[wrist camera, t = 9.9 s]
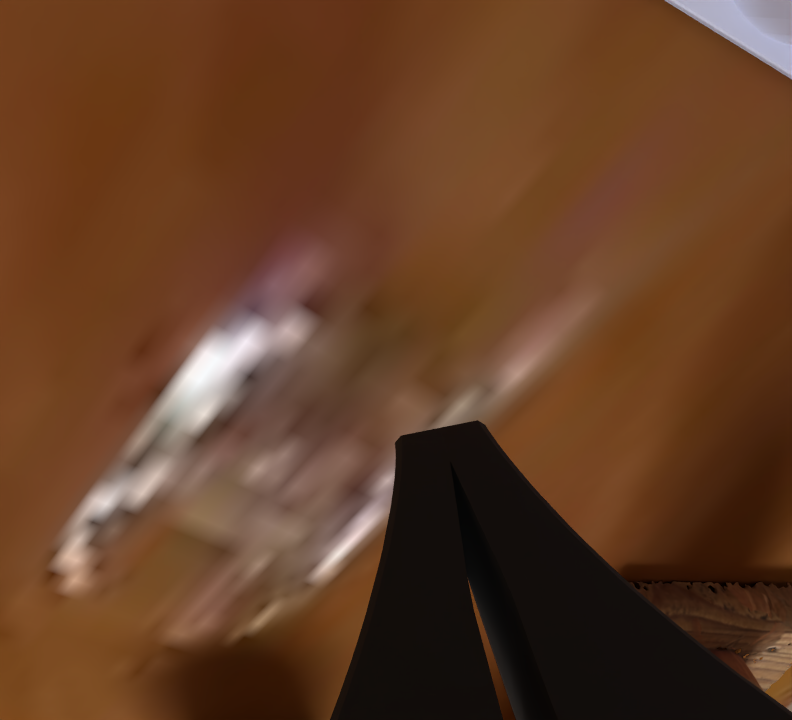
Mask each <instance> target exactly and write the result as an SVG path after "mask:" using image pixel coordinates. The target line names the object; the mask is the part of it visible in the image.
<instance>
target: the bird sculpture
mask: <svg viewBox="0 0 792 720" xmlns="http://www.w3.org/2000/svg"><path fill="white" fill-rule="evenodd" d="M629 583H630V584H631V585H632V586H633V587H634V588H635V586H634V584H633V582H629ZM637 583H639V586H640V589H636V588H635V589H636V590H638V591H639V592H640V593H641V594H642V595H643V596H644V597H645V598H647V599H648V600H649V601H650V602H651V603H652V604H654V605H655V606H656V607H657V608H658V609H659V610H661V611H662V612H663V613H664V614H665V615H667V616H668V617H669V618H670V619H671V620H673V621H674V622H675V623H676V624H677V625H678V626H680V627H681V628H682V629H683V630H684V631H686V632H687V633H688V634H689V635H691V636H692V637H693V638H694V639H696V640H697V641H698V642H699V643H701V644H702V645H703V646H704V647H706V648H707V649H708V650H710V651H711V652H712V653H713V654H715V655H716V656H717V657H718V658H720V659H721V660H722V661H723V662H725V663H726V664H727V665H728V666H730V667H731V668H732V669H734V670H735V671H736V672H737V673H739V674H740V675H741V676H743V677H744V678H746V679H747V680H748V681H750V682H751V683H752V684H754V685H755V686H757V687H758V688H759V689H761V690H762V691H763V692H765V691H766V690H767V689H768V688H770V685H771V684H773V683H775V682H776V681H777V680H779V678H780V677H781V676H782V675H783V674H784V672H785V671H786V670H788V668H790V667H791V665H792V664H789V663H791V662H792V586H791V585H790V584H789V583H788V582H787V588H784V586H783V587H782V588H777V587H776V585H773V584H772V583H771V584H769V586H768V587H767V586H765V585H764V584H763V582H758V583H756V585H755V586H754V587H752V588H751V587H750V586H748V585H745V587H744V588H742V587H740V586H739V584H738V582H737V583H735V584H734V585H732V584H731V583H727V582H726V585H727V587H725V585H724V589H723V587H722V586H720V584H719V583H715V584H713V583H712V582H706V583H704V584H702V583H701V582H698V583H697V582H695V583H693V585H691V584H690V582H682V583H681V582H676V581H673V582H672V583H671V584H669V583H666V584H663V583H662V581H660V582H659V583H656V584H655V583H654V582H653V581H652V584H647V583H643V582H637ZM687 585H688V586H689V590H688V589H687ZM709 585H711V586H712V587H713V588H714V589H715V593H713V592H712V591H711V590H710V588H708V586H709ZM644 586H645V587H646V588H647V591H646V590H645V589H644V588H643V587H644ZM724 590H725V591H724ZM720 646H721V649H723V648H726V647H727V649H726V650H717V648H719V647H720ZM780 647H782V648H780ZM736 649H741V652H740V653H738V654H736V653H735V650H736ZM772 649H775V650H773V651H771V650H772ZM746 654H749V655H747V656H746V658H744V659H743V656H745V655H746ZM761 657H764V658H763V659H762V660H759V658H761ZM754 659H756V660H754ZM753 660H754V661H756V662H755V663H754V661H753ZM788 665H789V666H788ZM787 666H788V667H787Z"/></svg>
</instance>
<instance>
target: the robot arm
mask: <svg viewBox="0 0 792 720" xmlns="http://www.w3.org/2000/svg"><path fill="white" fill-rule="evenodd" d="M665 1H666V2H668V3H670V4H671V5H673V6H674V7H676V8H678V9H679V10H681V11H682V12H684V13H686V14H687V15H689V16H690V17H692V18H694V19H695V20H697V21H699V22H700V23H702V24H703V25H705V26H707V27H708V28H710V29H711V30H713V31H715V32H716V33H718V34H719V35H721V36H723V37H724V38H726V39H728V40H729V41H731V42H732V43H734V44H736V45H737V46H739V47H740V48H742V49H744V50H745V51H747V52H748V53H750V54H752V55H753V56H755V57H757V58H758V59H760V60H761V61H763V62H765V63H766V64H768V65H769V66H771V67H773V68H774V69H776V70H777V71H779V72H781V73H782V74H784V75H786V76H787V77H789V78H790V79H792V0H665ZM395 448H396V468H395V480H394V488H393V495H392V503H391V509H390V514H389V519H388V525H387V530H386V535H385V540H384V545H383V550H382V554H381V559H380V563H379V567H378V571H377V574H376V578H375V582H374V586H373V589H372V593H371V597H370V601H369V605H368V608H367V612H366V616H365V619H364V622H363V626H362V629H361V632H360V635H359V639H358V642H357V645H356V648H355V651H354V654H353V657H352V660H351V663H350V666H349V669H348V672H347V675H346V678H345V681H344V683H343V686H342V689H341V692H340V695H339V698H338V700H337V703H336V706H335V708H334V711H333V713H332V716H331V719H330V720H503V717H502V714H501V710H500V706H499V703H498V699H497V695H496V692H495V688H494V684H493V681H492V677H491V673H490V669H489V666H488V662H487V658H486V654H485V650H484V647H483V643H482V639H481V635H480V632H479V628H478V624H477V620H476V617H475V613H474V609H473V604H472V599H471V594H470V589H469V584H468V580H469V583H470V586H471V589H472V592H473V595H474V598H475V601H476V604H477V607H478V610H479V613H480V616H481V619H482V622H483V625H484V628H485V630H486V633H487V636H488V639H489V642H490V645H491V648H492V651H493V654H494V657H495V660H496V663H497V666H498V668H499V671H500V674H501V677H502V680H503V683H504V686H505V689H506V692H507V695H508V698H509V701H510V704H511V707H512V709H513V712H514V715H515V718H516V720H792V712H791V711H789V710H788V709H787V708H785V707H784V706H783V705H781V704H780V703H779V702H777V701H776V700H774V699H773V698H772V697H770V696H769V695H768V694H766V693H765V692H763V691H762V690H761V689H759V688H758V687H757V686H755V685H754V684H752V683H751V682H750V681H748V680H747V679H746V678H744V677H743V676H741V675H740V674H739V673H737V672H736V671H735V670H734V669H732V668H731V667H730V666H728V665H727V664H726V663H725V662H723V661H722V660H721V659H720V658H718V657H717V656H716V655H715V654H713V653H712V652H711V651H710V650H708V649H707V648H706V647H704V646H703V645H702V644H701V643H699V642H698V641H697V640H696V639H694V638H693V637H692V636H691V635H689V634H688V633H687V632H686V631H684V630H683V629H682V628H681V627H680V626H678V625H677V624H676V623H675V622H674V621H673V620H671V619H670V618H669V617H668V616H667V615H665V614H664V613H663V612H662V611H661V610H659V609H658V608H657V607H656V606H655V605H654V604H652V603H651V602H650V601H649V600H648V599H647V598H645V597H644V596H643V595H642V594H641V593H640V592H639V591H638V590H636V589H635V588H634V587H633V586H632V585H631V584H630V583H629V582H628V581H626V580H625V579H624V578H623V577H622V576H621V575H620V574H619V573H618V572H617V571H615V570H614V569H613V568H612V567H611V566H610V565H609V564H608V563H607V562H606V561H605V560H604V559H603V558H602V557H601V556H600V555H599V554H598V553H597V552H596V551H594V550H593V549H592V548H591V547H590V546H589V545H588V544H587V543H586V542H585V541H584V540H583V539H582V538H581V537H580V536H579V535H578V534H577V533H576V532H575V531H574V530H573V529H572V528H571V527H570V526H569V525H568V524H567V523H566V522H565V520H564V519H563V518H562V517H561V516H560V515H559V514H558V513H557V512H556V511H555V510H554V509H553V508H552V507H551V506H550V504H549V503H548V502H547V501H546V500H545V499H544V498H543V497H542V496H541V495H540V494H539V493H538V492H537V490H536V489H535V488H534V487H533V486H532V485H531V484H530V482H529V481H528V480H527V479H526V478H525V477H524V475H523V474H522V473H521V472H520V471H519V469H518V468H517V467H516V466H515V465H514V463H513V462H512V461H511V460H510V459H509V457H508V456H507V455H506V453H505V452H504V451H503V450H502V448H501V447H500V446H499V444H498V443H497V442H496V440H495V439H494V437H493V436H492V435H491V433H490V432H489V430H488V429H487V427H486V426H485V425H484V424H483V423H481V422H479V421H478V420H477V421H472V422H467V423H462V424H457V425H452V426H447V427H442V428H437V429H432V430H427V431H422V432H417V433H412V434H407V435H402V436H400V438H399V439H398V440H397V441H396V442H395ZM467 577H468V579H467Z"/></svg>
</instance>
